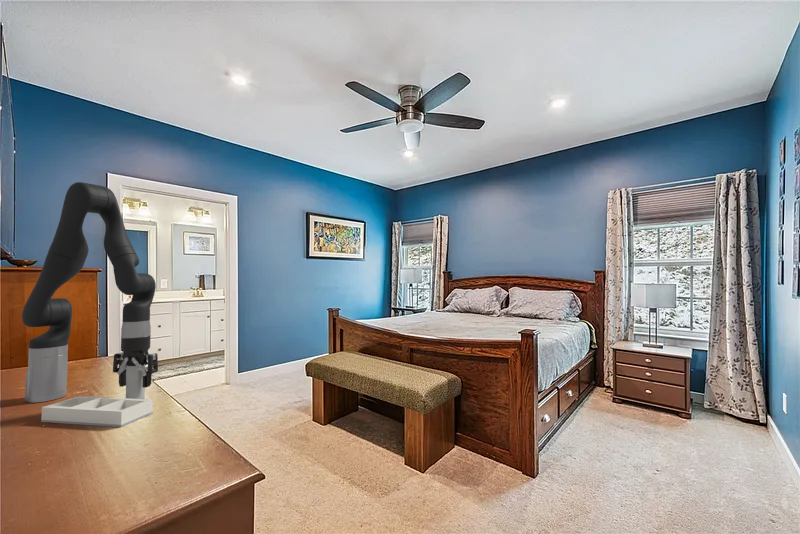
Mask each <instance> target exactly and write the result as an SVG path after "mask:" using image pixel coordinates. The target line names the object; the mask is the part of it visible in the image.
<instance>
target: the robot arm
mask: <svg viewBox="0 0 800 534" xmlns="http://www.w3.org/2000/svg"><path fill="white" fill-rule="evenodd" d="M88 213H91V214H98V215H99V216H100V217H101V220H103V223H104V225H105V233H104V238H103V246H104V247H103V248H104V251H105V253H106V255H107V257H108V260H109V261H110V263H111V265H112V268H113V274H114V281H115V285H116V287H117V289H118V290H119V291H120V292H121V293H122V294H124V295H127V296H132V297H131V301H130V302H128V303H125V304H124V305H123V308H122V324H121V329H120V330H121V331H120V351H121V352H118V353H114V354H113V362H112V363H113V364H112V373H113V374H114V373H116V374H117V375H118V385H119V387H121V388H122V387H126V368H127V365H128V366H136V367H137V368H138V370H140V371H141V372H142V374H143V375H144V376H143V385H142V387H143V388H145V389H146V388H149V387H150V386H151V385H152V376H153V374H155V373H157V372H158V371H159V361H158V357H159V356H158V353H149V350H150V348H151V337H152V336H151V332H152V331H151V328H152V327H151V305H152V303H153V299H154V296H155V292H156V288H157V286H156V281H155V278H154V277H153V276H152V275H151V274H149V273H144V272H143V273H141V272H137V270H136V267H137V266H138V265H140V258H139V256H138V255H137V253H136V250H135V249H134V246H133V244H132V243H131V240H130V238H129V236H128V232H127V230H126V227H125V223H124V219H123V216H122V213H121V209H120V206H119V202H118V200H117V198H116V195H115V193H114V192H113V190H112V189H110V188H108V187H107V186H102V185H98V184H92V183H88V182H82V181H77V182H74V183H72V184H70V186H69V187H68V189H67V190H66V193H65V196H64V200H63V205H62V209H61V213H60V217H59V222H58V225H57V228H56V230H55V234H54V236H53V239H52V242H51V244H50V246H49V248H48V251H47V254H46V256H45V259H44V263H43V266H42V269H41V271H40V274H39V275H38V279H37V280H36V283H35V285H34V287H33V289H32V291H31V292H30V295H28V298H27V300H26V301H25V304H24V306H23V309H22V313H21V320H22V323H23V324H24V325H25V326H26V327H29V328H39V327H40V328H43V327H49V328H48V330H47V331H45V332H44V333H43V334H41V335H37V336H35V337H32V338H31V339H30V340H29V342H28V363H27V364H28V367H27V371H26V372H25V392H24V401H26V402H27V403H30V404H31V403H33V404H34V403H43V402H48V401H49V402H50V401H53V400H57V399H61V398H64V397H66V396H67V385H68V358H69V357H68V356H69V354H68V353H69V339H70V336H71V331H72V330H71V329H72V319H73V307H72V304H71V302H70V300H69V299H67V298H62V297H59V298H58V297H57V298H53V296H54V295H55V293H56V292H57V290H59V289H60V288H61V287H62V286H64V284H66V283H67V282H69V281H70V280H71V279H73V278H74V277H75V276H77V274H79V273H80V272H81V270H82V269H83V267H84V266H85V263H86V260H87V258H88V255H89V251H90V250H89V245H88V242H87V239H86V237H85V234H84V232H83V231H84V230H83V225H84V221H85V218H86V217H87V214H88ZM144 364H145V366H143V365H144Z"/></svg>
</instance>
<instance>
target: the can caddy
mask: <svg viewBox="0 0 800 534" xmlns="http://www.w3.org/2000/svg"><path fill="white" fill-rule="evenodd" d="M153 402H154V400H153V399H150V398H149V399H146V398H145V399H128V398H126V397H107V396H106V397H104V396H86V395H85V396H81V395H78V396H74V397H70V398H68V399H65V400H62V401H58V402H55V403H50V404H48V405H45V406H41V419H40V420H41V423H48V424H49V423H50V422H51V423H54V424H65V425H81V426H82V425H83V426H95V427H98V426H99V427H113V428H123V427H124V426H127V425H129V424H131V423H134V422H136V421H138V420H141V419H143V417H144V418H145V416H146V417H147V415H148V416H150V415H149V414H151V413H152V414H153V412H154V411H153V407H154V405H153ZM152 414H151V415H152Z"/></svg>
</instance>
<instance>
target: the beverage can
mask: <svg viewBox="0 0 800 534" xmlns="http://www.w3.org/2000/svg"><path fill="white" fill-rule="evenodd" d="M143 366H145V364H144V365H143ZM143 376H144V375H143V374H142V372H141V371H140V370H138V368H137V367H136V366H128V365H127V368H126V386H125V398H128V399H146V398H145V394H146V390H145V389H146V388H143V387H142V385H143Z"/></svg>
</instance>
